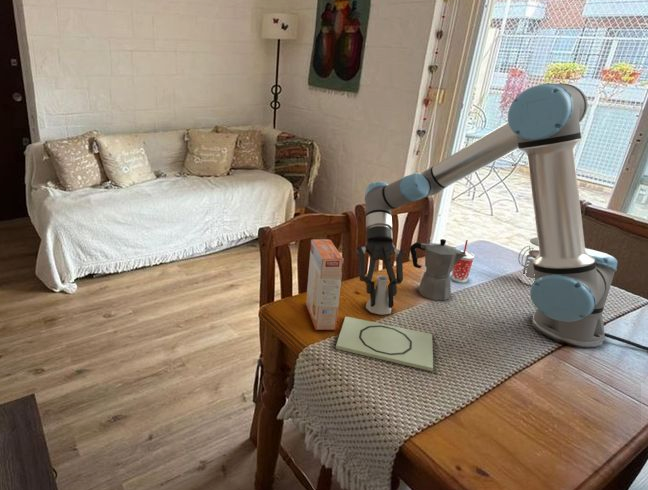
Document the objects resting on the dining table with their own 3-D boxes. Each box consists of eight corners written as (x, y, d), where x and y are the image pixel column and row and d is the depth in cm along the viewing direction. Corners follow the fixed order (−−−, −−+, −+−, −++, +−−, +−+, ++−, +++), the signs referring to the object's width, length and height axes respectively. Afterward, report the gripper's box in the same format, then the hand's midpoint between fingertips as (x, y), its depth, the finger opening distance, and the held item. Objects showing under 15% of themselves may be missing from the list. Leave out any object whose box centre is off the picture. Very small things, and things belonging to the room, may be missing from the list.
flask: (388, 303, 130) (392, 272, 127) (394, 316, 123) (399, 284, 120) (363, 302, 131) (366, 271, 127) (368, 314, 124) (372, 283, 121)
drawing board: (431, 337, 113) (432, 333, 113) (432, 371, 100) (433, 367, 100) (345, 319, 122) (345, 315, 121) (335, 348, 108) (336, 345, 108)
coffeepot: (458, 292, 137) (469, 238, 131) (456, 305, 129) (467, 249, 123) (406, 280, 144) (414, 229, 138) (401, 292, 136) (409, 238, 131)
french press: (560, 288, 140) (581, 214, 132) (523, 288, 140) (542, 213, 132) (540, 275, 149) (558, 204, 141) (505, 274, 149) (521, 204, 141)
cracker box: (337, 331, 116) (344, 258, 109) (314, 331, 116) (320, 258, 109) (325, 304, 129) (331, 238, 122) (305, 304, 129) (310, 238, 122)
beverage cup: (450, 273, 150) (458, 235, 145) (471, 278, 146) (478, 239, 142) (447, 280, 145) (454, 240, 140) (468, 285, 141) (476, 245, 137)
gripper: (405, 237, 135) (410, 312, 124) (348, 233, 137) (348, 306, 127) (412, 226, 128) (418, 304, 118) (351, 223, 130) (352, 299, 120)
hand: (382, 305), depth 122 cm, fingers closed on flask, 4 cm apart
